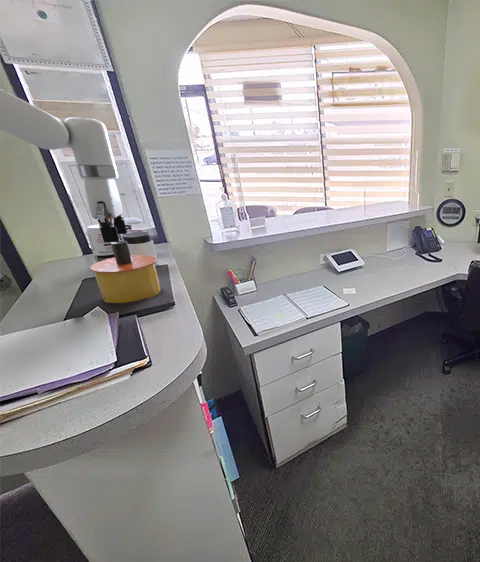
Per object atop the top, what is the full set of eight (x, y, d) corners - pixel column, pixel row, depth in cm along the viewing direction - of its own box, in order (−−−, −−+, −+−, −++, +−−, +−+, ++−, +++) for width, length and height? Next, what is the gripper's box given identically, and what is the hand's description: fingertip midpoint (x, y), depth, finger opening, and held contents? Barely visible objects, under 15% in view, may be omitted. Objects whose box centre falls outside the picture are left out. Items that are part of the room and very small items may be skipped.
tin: (97, 308, 84) (86, 275, 80) (110, 289, 95) (101, 260, 91) (157, 299, 89) (149, 269, 86) (162, 283, 101) (156, 255, 97)
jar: (126, 270, 109) (117, 237, 105) (132, 263, 116) (123, 232, 112) (156, 268, 113) (149, 236, 108) (160, 261, 120) (153, 231, 115)
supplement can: (114, 262, 117) (102, 222, 112) (132, 264, 116) (121, 224, 110) (91, 269, 110) (78, 227, 104) (111, 271, 108) (98, 229, 103)
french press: (149, 257, 123) (133, 193, 114) (113, 259, 119) (94, 193, 110) (156, 251, 132) (141, 190, 122) (123, 252, 128) (105, 190, 119)
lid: (83, 278, 79) (74, 252, 77) (99, 261, 92) (92, 238, 89) (153, 271, 86) (147, 246, 83) (160, 256, 98) (154, 234, 96)
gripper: (90, 170, 85) (107, 231, 91) (66, 174, 70) (89, 246, 77) (124, 171, 88) (138, 230, 94) (108, 174, 74) (126, 244, 80)
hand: (116, 237), depth 85 cm, fingers open, 9 cm apart
